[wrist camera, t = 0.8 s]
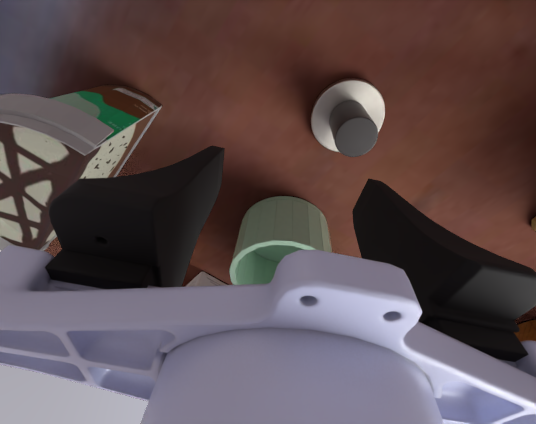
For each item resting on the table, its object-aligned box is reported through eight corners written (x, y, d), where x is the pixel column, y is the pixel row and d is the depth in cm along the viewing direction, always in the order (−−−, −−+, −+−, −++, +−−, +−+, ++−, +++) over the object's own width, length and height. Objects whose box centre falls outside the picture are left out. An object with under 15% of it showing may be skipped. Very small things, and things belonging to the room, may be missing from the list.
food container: (91, 20, 17) (-82, 31, 9) (172, 90, 19) (89, 146, 12) (42, 145, 23) (-87, 216, 15) (108, 188, 26) (25, 268, 18)
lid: (394, 124, 20) (414, 147, 16) (331, 160, 22) (338, 187, 19) (363, 60, 17) (380, 72, 14) (297, 107, 20) (297, 128, 16)
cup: (344, 241, 27) (354, 290, 23) (274, 270, 31) (270, 318, 26) (296, 179, 23) (297, 223, 19) (223, 222, 27) (207, 267, 22)
